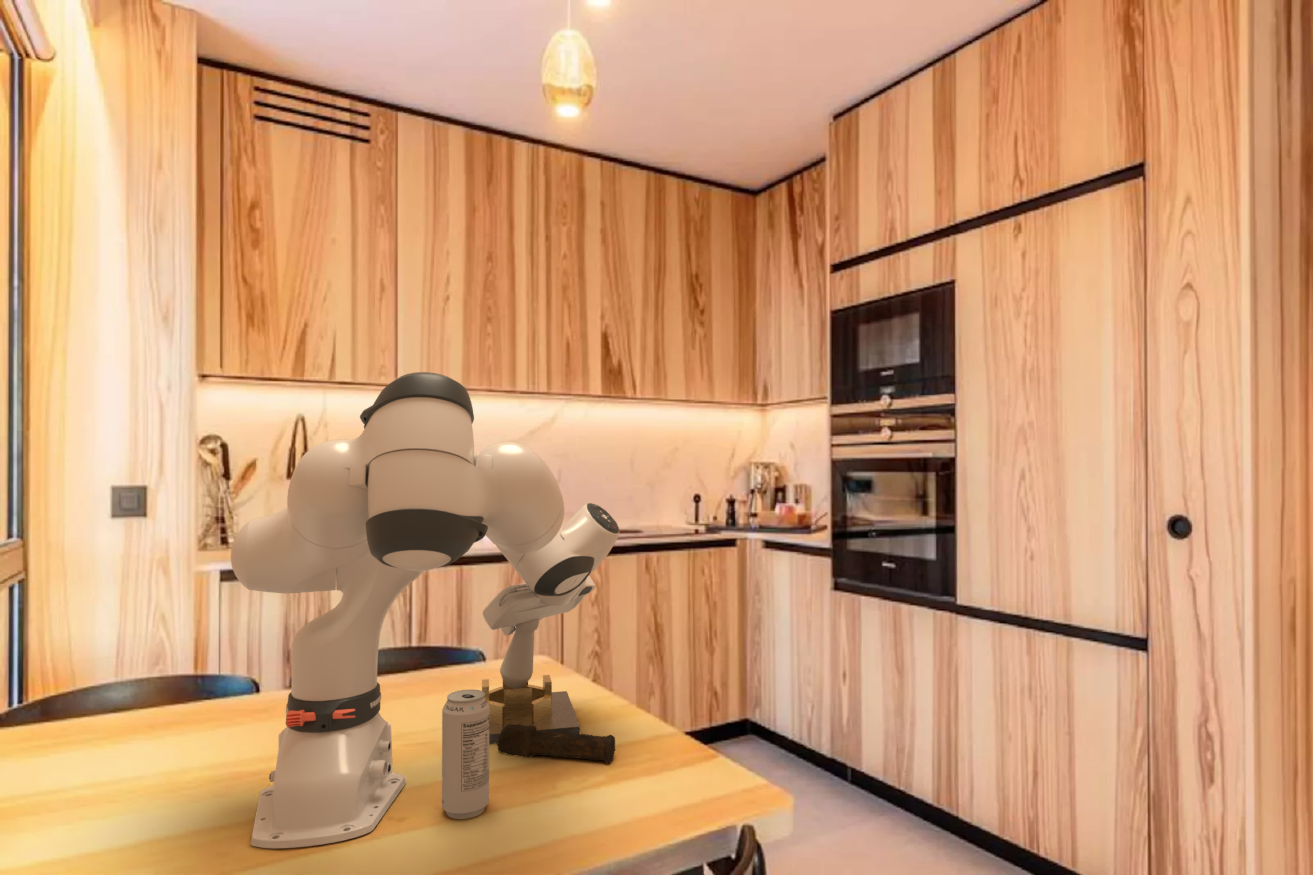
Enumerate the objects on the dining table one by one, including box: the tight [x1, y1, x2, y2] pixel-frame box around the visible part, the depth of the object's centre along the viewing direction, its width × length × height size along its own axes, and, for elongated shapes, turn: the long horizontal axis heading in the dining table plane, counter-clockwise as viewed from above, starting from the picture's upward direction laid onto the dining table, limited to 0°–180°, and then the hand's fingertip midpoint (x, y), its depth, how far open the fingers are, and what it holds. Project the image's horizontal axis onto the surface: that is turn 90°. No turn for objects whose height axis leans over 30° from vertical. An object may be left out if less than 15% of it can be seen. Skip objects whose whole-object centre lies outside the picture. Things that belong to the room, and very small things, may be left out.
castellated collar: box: [481, 674, 581, 745], centre depth 131 cm, size 20×20×7 cm
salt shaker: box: [499, 619, 540, 689], centre depth 131 cm, size 6×6×13 cm
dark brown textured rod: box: [497, 725, 616, 765], centre depth 115 cm, size 19×4×5 cm, turn 76°
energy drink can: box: [441, 689, 490, 820], centre depth 97 cm, size 6×6×15 cm
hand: (514, 630), depth 132 cm, fingers closed on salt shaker, 3 cm apart
